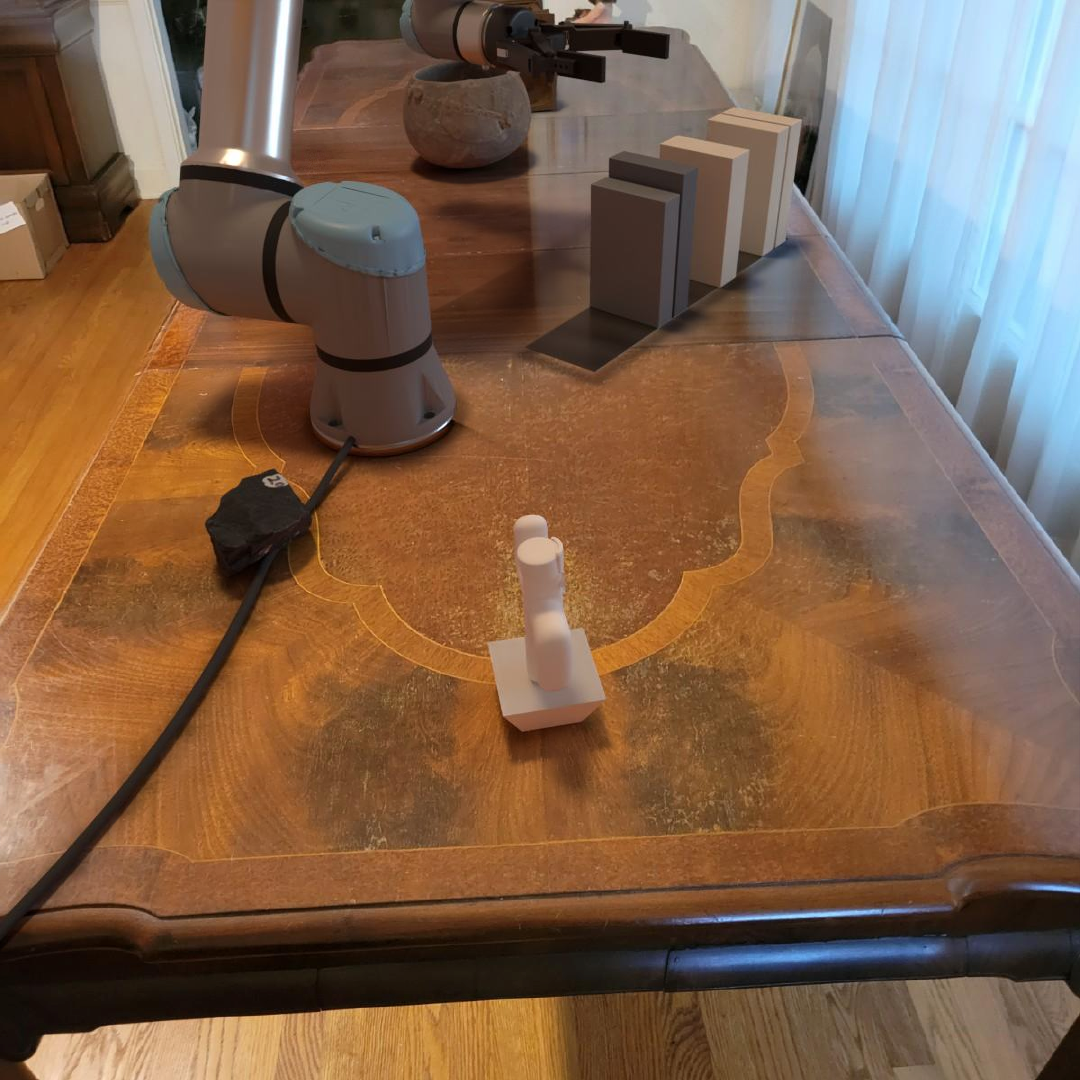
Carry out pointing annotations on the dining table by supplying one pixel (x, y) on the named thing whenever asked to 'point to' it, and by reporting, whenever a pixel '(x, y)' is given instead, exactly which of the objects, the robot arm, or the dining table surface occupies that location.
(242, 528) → the mineral
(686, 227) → the grey books
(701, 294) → the black base plate
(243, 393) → the dining table surface
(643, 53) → the robot arm
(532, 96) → the ornamental box
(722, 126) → the white books
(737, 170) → the white book
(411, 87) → the clay pot
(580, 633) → the figurine
